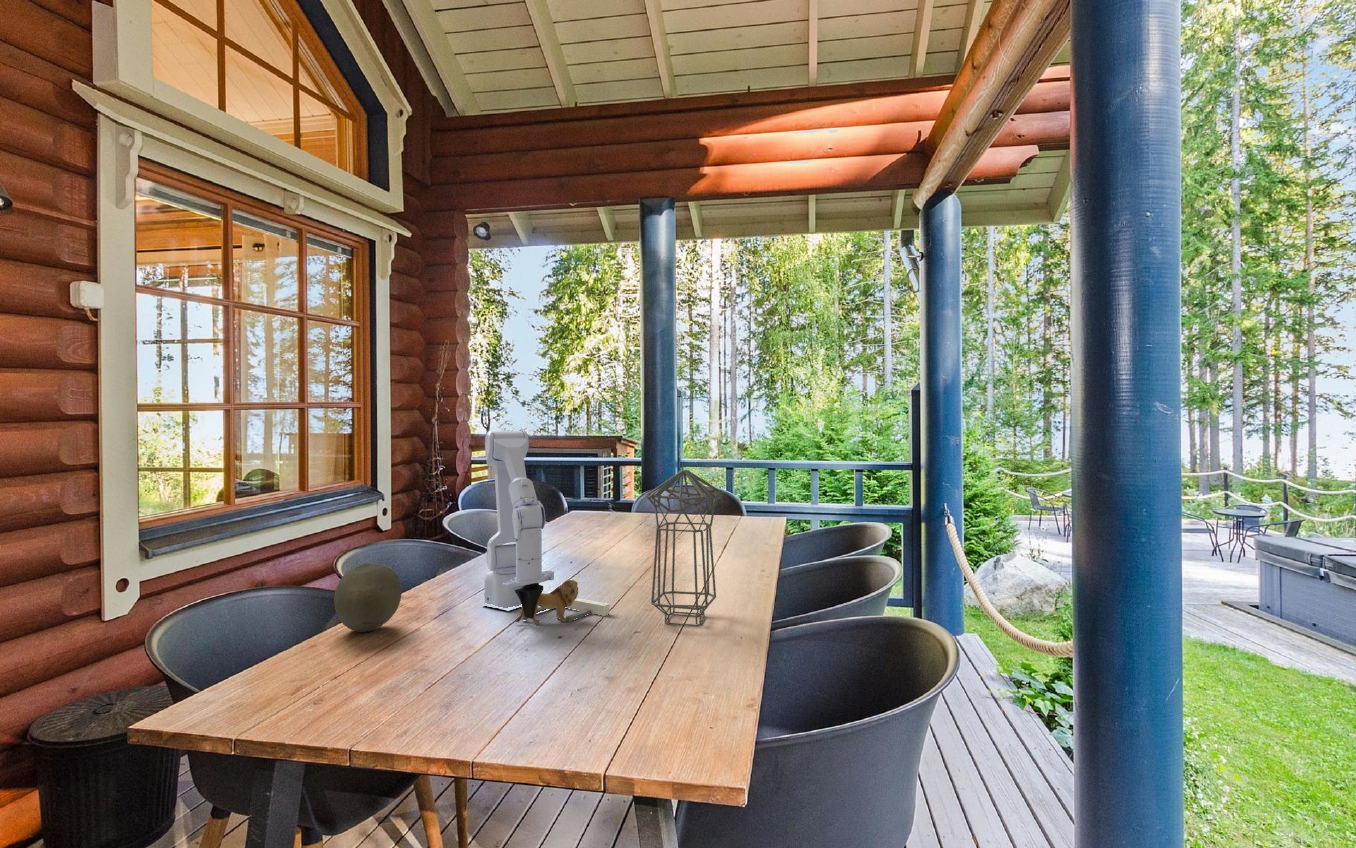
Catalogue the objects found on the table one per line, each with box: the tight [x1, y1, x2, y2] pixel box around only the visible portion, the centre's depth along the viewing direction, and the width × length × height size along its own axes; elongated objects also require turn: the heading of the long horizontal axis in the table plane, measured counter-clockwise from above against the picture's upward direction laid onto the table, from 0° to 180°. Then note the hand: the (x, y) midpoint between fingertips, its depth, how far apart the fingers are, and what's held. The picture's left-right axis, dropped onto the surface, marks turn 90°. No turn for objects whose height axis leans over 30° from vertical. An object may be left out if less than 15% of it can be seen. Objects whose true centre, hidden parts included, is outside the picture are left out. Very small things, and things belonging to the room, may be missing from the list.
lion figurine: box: [515, 579, 579, 624], centre depth 155 cm, size 15×5×9 cm, turn 113°
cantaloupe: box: [333, 562, 403, 633], centre depth 148 cm, size 14×14×15 cm
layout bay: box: [536, 597, 611, 622], centre depth 161 cm, size 20×10×2 cm, turn 58°
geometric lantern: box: [645, 469, 722, 627], centre depth 155 cm, size 16×16×35 cm
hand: (529, 617), depth 151 cm, fingers closed
